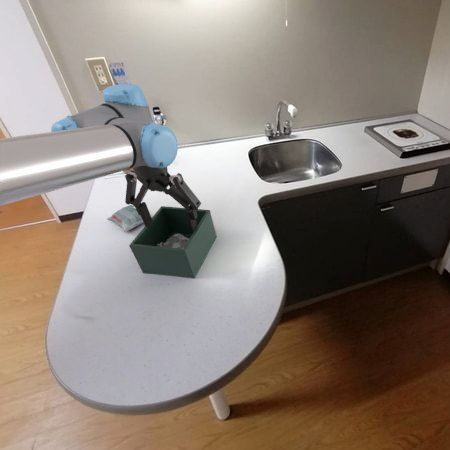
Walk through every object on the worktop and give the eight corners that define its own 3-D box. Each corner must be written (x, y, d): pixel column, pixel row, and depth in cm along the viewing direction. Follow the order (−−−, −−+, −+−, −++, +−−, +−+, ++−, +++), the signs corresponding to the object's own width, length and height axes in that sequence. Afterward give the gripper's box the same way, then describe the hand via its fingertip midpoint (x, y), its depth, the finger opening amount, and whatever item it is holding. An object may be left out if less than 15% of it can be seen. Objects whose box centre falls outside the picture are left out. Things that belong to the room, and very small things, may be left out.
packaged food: (126, 237, 99) (120, 225, 96) (108, 223, 104) (102, 211, 101) (151, 224, 104) (146, 212, 101) (133, 211, 110) (128, 200, 107)
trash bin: (142, 272, 87) (128, 245, 80) (171, 232, 100) (161, 206, 94) (194, 278, 85) (185, 251, 78) (216, 236, 99) (209, 209, 92)
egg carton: (158, 253, 92) (154, 243, 89) (178, 239, 97) (175, 229, 94) (182, 267, 87) (179, 257, 85) (202, 251, 92) (199, 241, 90)
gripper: (202, 151, 73) (218, 220, 87) (107, 146, 76) (137, 213, 90) (189, 167, 68) (208, 238, 81) (87, 160, 70) (122, 230, 84)
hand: (171, 225), depth 86 cm, fingers open, 13 cm apart
